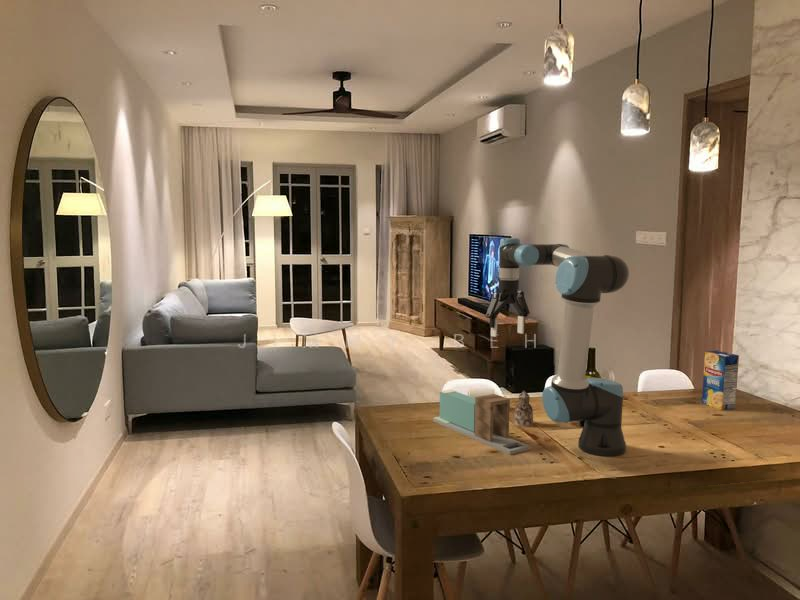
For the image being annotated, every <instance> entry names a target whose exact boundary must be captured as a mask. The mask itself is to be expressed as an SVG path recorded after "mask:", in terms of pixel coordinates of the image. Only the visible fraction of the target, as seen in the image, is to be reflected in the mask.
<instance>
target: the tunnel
mask: <svg viewBox="0 0 800 600" xmlns="http://www.w3.org/2000/svg"><path fill="white" fill-rule="evenodd" d="M510 401H511V399H510V398H508V397H506V396H502V395H499V394H496V393H494V394H490V395H484V396H479V397H475V436H477V437H479V438H481V439H484V440H486V441H488V442H493V433H494V434H496V435H499V436H501V437H504V438H510V436H509V435H510V433H509V432H510Z"/></svg>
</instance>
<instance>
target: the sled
mask: <svg viewBox="0 0 800 600" xmlns="http://www.w3.org/2000/svg"><path fill="white" fill-rule="evenodd" d="M439 416H440V418H442V419H444V420H446V421H449V422H451V423H454V424H456V425H458V426H461V427H463V428H466V429H468V430H470V431H473V432H475V398H473V397H470V396H468V394H463V393H461V392H458V391H456V390H454V389H447V390H440V391H439Z"/></svg>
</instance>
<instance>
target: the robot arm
mask: <svg viewBox="0 0 800 600" xmlns="http://www.w3.org/2000/svg"><path fill="white" fill-rule="evenodd" d="M498 249H499V255H498V257H499V258H498V259H499V260H498V261H499V263H498V278H499V280H498V289H499V292H492V295H491V296H492V297H491V300H490V303H489V306H488V308H487V311H486V314H485V318H488V319H489V328H490V336H491V337H494V338H497V337H498V319H497V317H498V315H499V314H500V312H501V311H502V309H503V308H504V306H506V305H510V304H512V305H513V308H514V309H515V310H516V311H517V314H518V316H517V330H516V331H517V334H521V335H523V334H525V333H524V332H525V324H526V318H527V317H528V315H530V313H531V312H530V310H529V307H528V304H527V302H526V301H527V300H526V298H525V292H524V291H523V290H519V288H520V280H519V278H520V266H522V267H525V266H526V267H529V266H530V267H531V266H543V265H545V266H546V265H547V266H548V265H549V266H554V267H557V270H556V274H555V284H556V290H557V291H558V292H559V293H560V294H561V299H562V300H563V301H564V302H565V306H564V307H565V308H564V316H563V324H562V332H561V342H560V349H559V356H558V357H559V359H558V368H557V373H556V374H555V375H554V376H553V377H552V378H551V384H550V385H549V386H547V387H545V388H544V389H543V391H542V393H541V394H542V395H541V399H542V401H541V403H542V407H543V409H544V411H545V414H546V416H547V417H548V418H549V419H550V420H551V421H552V422H553V423H557V424H560V423H562V424H563V423H564V424H569V423H573V422H581V421H582V422H584V424H583V425H584V426H583V427H582V430H581V433H580V435H579V437H578V443H577V444H578V448H579V450H581V451H582V452H585V453H587V452H588V454H590V455H596V456H602V457H617V456H620V455H624V454H625V453H626V450H627V444H626V441H625V437H624V432H623V429H622V422H623V421H622V419H623V402H624V399H623V398H624V388H623V387H624V386H622V384H621V383H619V382H617V381H615V380H611V379H608V378H600V377H588V378H586V374H587V373H586V372H587V365H588V357H589V355H588V354H589V349H590V341H591V334H592V333H591V332H592V325H593V319H594V318H593V317H594V312H595V311H594V309H595V307H596V306H597V305H598V304H599V303H600V302H601V296H602V294H612V293H614V292H615V293H616V292H617V291H619V290H620V289H622V288H623V287H625V285H626V284H627V282H628V280H629V277H630V270H629V267H628V265H627V263H626V262H625V261H624V260H623V259H622V258H621V257H618V256H614V255H608V254H603V255H597V254H593V253H590V252H586V251H582V250H578V249H574V248H570V247H569V245H567V244H564V243H563V244H562V243H552V244H548V243H547V244H543V243H541V244H535V243H534V244H532V243H531V244H526V243H523V244H522V243H521V240H520V239H519V238H516V237H504V238H501V239H500V240H499V247H498ZM616 455H617V456H616Z"/></svg>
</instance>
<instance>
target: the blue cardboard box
mask: <svg viewBox="0 0 800 600" xmlns="http://www.w3.org/2000/svg"><path fill="white" fill-rule="evenodd" d="M739 360H740V355H738V354H734V353H730V352H726V351H722V350H719V349H718V350H717V349H716V350H705V351H704V360H703V361H704V362H703V378H702V379H703V380H702V396H701V404H702V405H705V404H706V406H708V405H709V407H711V408H714V409H717V410H720V411H728V410H735V409H736V405H737V402H736V401H737V389H738V375H739V363H740V362H739Z"/></svg>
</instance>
